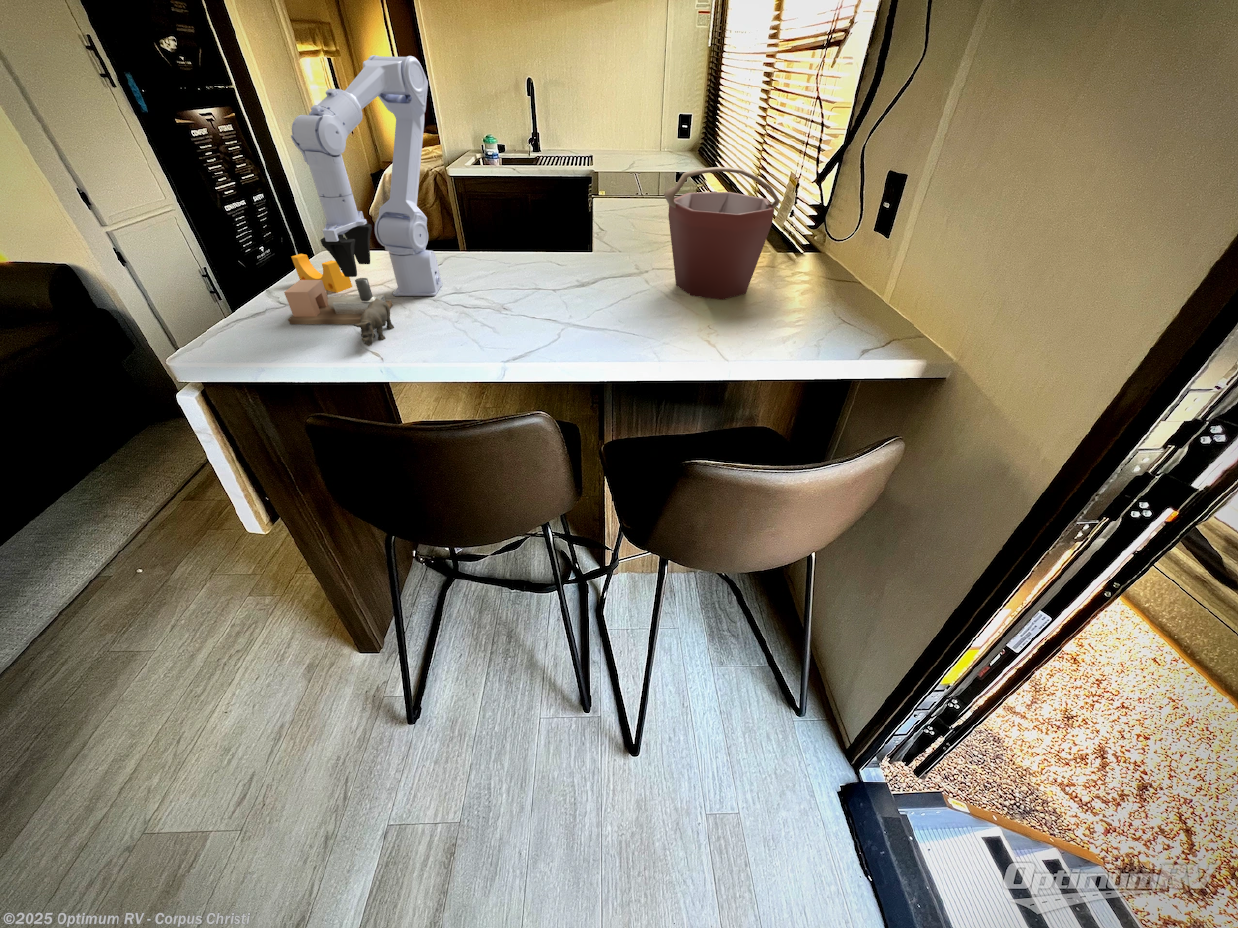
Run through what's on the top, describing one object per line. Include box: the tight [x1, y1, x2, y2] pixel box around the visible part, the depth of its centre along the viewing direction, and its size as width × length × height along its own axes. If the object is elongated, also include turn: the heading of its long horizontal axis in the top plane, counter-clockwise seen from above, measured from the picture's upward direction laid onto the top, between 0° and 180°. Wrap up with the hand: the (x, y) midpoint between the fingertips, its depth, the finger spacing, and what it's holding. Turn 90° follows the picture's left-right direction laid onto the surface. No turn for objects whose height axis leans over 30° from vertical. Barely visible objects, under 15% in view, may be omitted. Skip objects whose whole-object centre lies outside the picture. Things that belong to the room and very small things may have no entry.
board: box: [287, 300, 394, 325], centre depth 107 cm, size 18×10×1 cm, turn 92°
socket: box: [283, 279, 329, 317], centre depth 105 cm, size 4×7×5 cm, turn 2°
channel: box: [333, 294, 387, 314], centre depth 106 cm, size 9×5×2 cm, turn 92°
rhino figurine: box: [352, 299, 395, 347], centre depth 97 cm, size 4×14×6 cm, turn 3°
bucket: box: [663, 166, 780, 301], centre depth 116 cm, size 24×22×25 cm
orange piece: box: [291, 253, 353, 294], centre depth 119 cm, size 12×4×6 cm, turn 63°
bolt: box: [328, 277, 376, 309], centre depth 105 cm, size 9×2×6 cm, turn 92°
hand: (358, 270), depth 102 cm, fingers open, 7 cm apart
